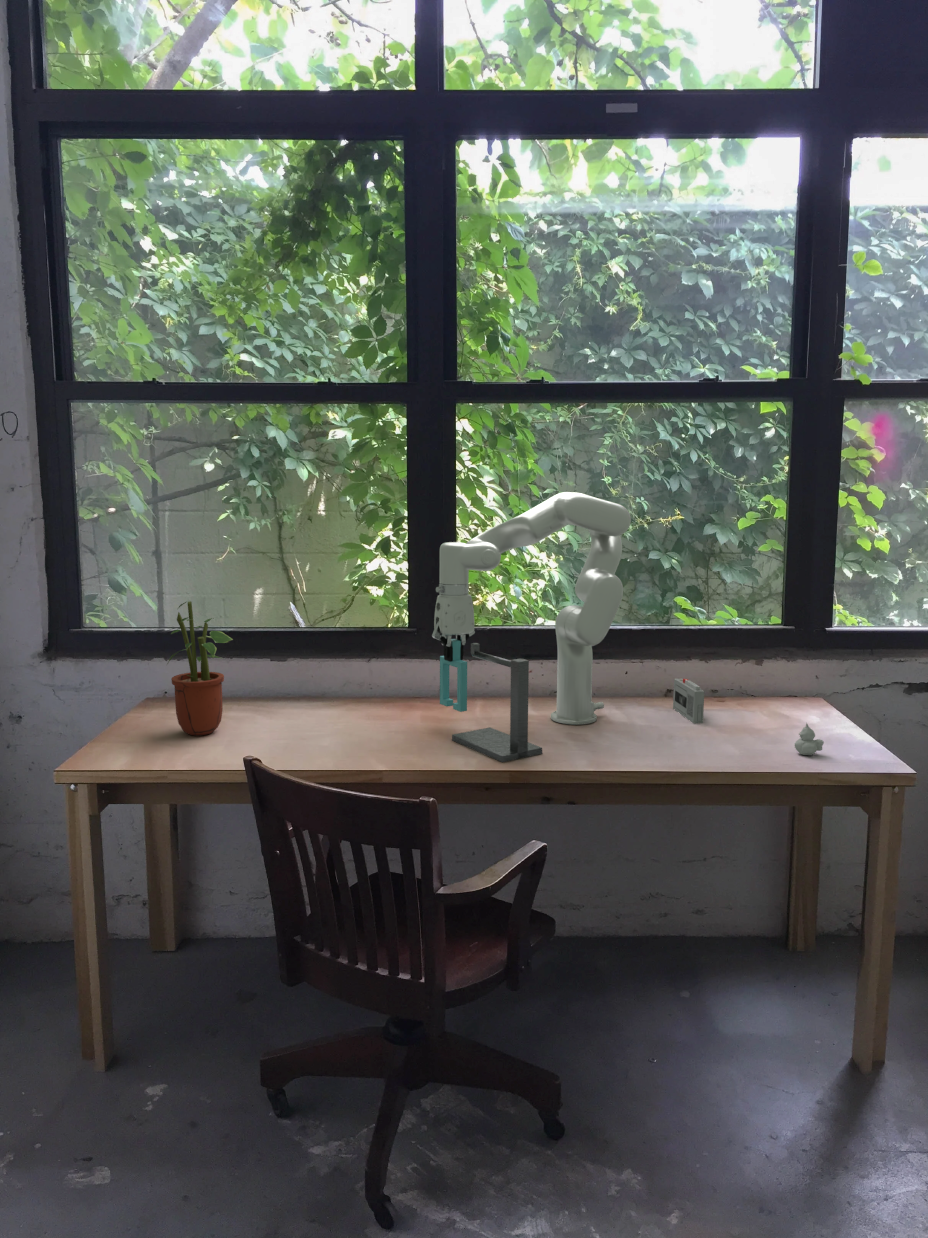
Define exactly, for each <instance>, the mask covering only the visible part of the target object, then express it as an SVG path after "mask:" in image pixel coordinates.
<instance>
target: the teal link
mask: <svg viewBox="0 0 928 1238" xmlns="http://www.w3.org/2000/svg"><path fill="white" fill-rule="evenodd" d="M451 646H452V647H453V661H451V662H450V661H446V660H444V655H440V656H439V705H442V706H445V707H452V710H455V711H457V712H460V713H462V712H467V711H468V661H466V660H464V659H463V660H460V647H461V641H460V640H457V639H456V638H451ZM450 666H451V667H453V668H457V673H456V674H457V676H456V677H457V679H456V681H457V683H456V685H457V686H456V687H457V689H456V691H457V692H456V696H457V697H456V699H457V700H456V702H454V699H453V698H450Z"/></svg>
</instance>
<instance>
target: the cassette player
mask: <svg viewBox="0 0 928 1238" xmlns="http://www.w3.org/2000/svg"><path fill="white" fill-rule="evenodd" d="M672 700H673V702H672V710H674V709H675V710H674V711H675V712H676V713H678V712H679V713H680V715H681V716H682V717H684V718H685V717H686V718H687V720H688V721H689V720H690V721H689V722H691V723H692V724H703V723H704V710H705V709H704V708H705V690H703V689H702V688H701V686H699V685H698V684H697V683H695V682H693V681H691V680H690V679H687V678H674V679H673V698H672ZM679 713H678V714H679ZM686 718H685V719H686Z"/></svg>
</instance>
